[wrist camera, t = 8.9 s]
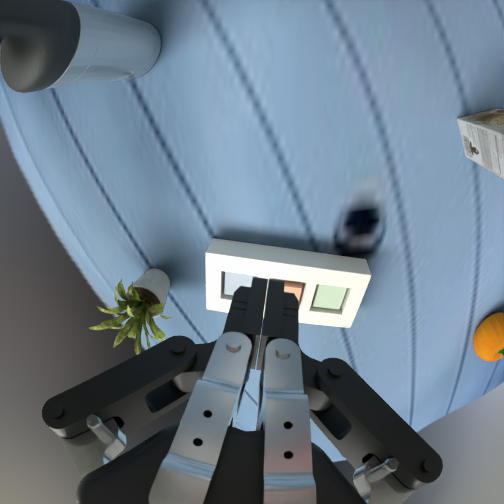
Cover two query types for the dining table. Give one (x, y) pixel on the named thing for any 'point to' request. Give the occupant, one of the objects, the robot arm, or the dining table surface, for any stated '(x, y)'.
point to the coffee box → (484, 139)
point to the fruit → (490, 338)
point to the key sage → (328, 296)
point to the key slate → (236, 282)
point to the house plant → (139, 307)
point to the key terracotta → (292, 287)
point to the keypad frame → (288, 277)
